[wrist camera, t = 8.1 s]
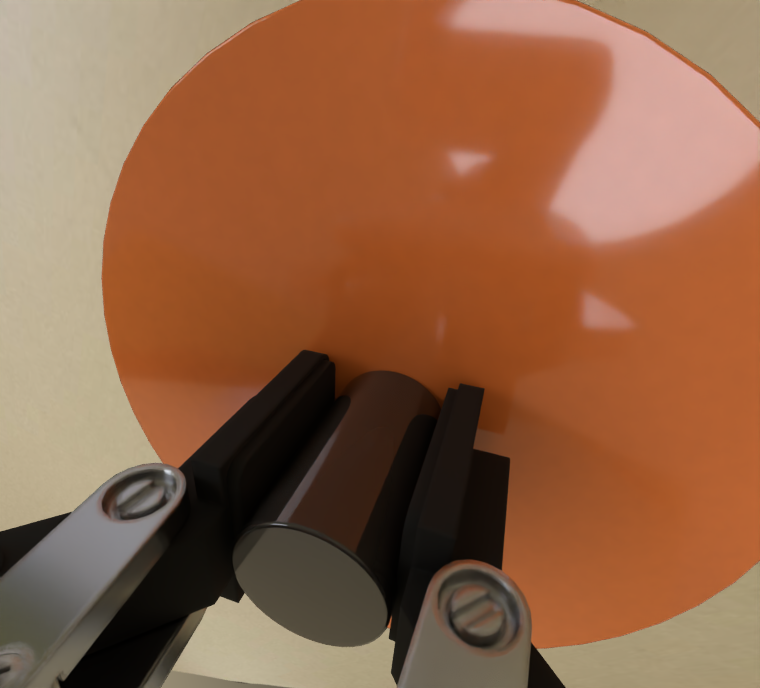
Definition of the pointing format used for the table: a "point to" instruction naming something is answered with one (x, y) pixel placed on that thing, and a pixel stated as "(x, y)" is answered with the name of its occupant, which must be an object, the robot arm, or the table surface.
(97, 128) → the table surface
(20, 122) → the table surface
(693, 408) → the pan lid
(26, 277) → the table surface
